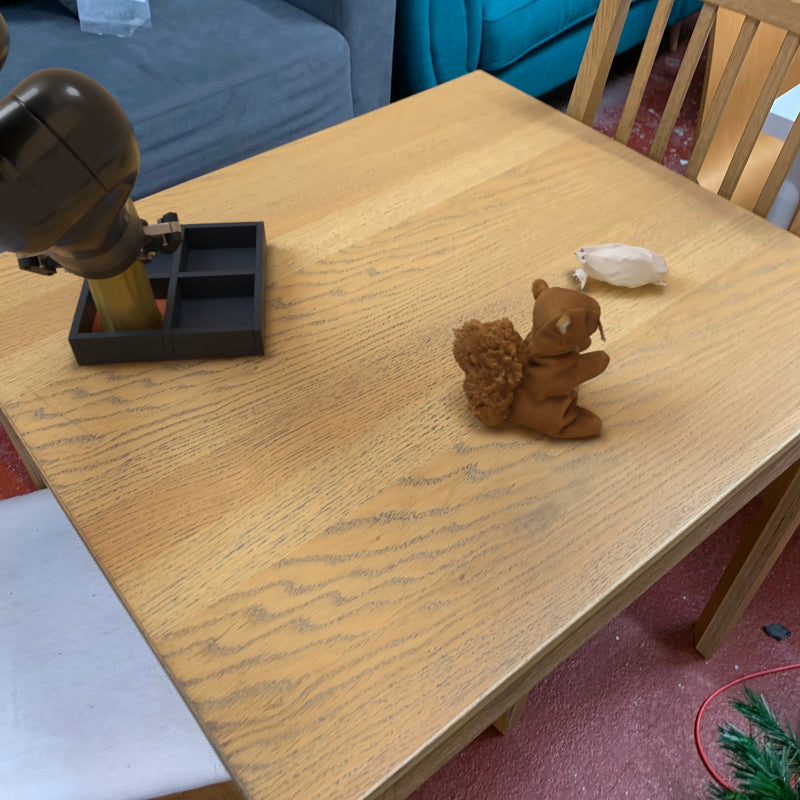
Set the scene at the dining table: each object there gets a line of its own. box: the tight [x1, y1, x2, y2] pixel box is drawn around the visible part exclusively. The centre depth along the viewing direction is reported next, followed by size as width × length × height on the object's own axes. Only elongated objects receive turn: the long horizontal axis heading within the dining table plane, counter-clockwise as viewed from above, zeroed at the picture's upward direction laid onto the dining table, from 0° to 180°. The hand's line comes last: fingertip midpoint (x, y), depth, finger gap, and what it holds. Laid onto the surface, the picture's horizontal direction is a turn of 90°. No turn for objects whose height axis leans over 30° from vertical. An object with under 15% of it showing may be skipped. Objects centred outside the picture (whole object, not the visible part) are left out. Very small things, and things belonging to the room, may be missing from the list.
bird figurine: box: [572, 242, 669, 290], centre depth 85 cm, size 5×7×10 cm
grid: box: [67, 220, 268, 366], centre depth 82 cm, size 18×18×4 cm
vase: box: [87, 260, 162, 332], centre depth 74 cm, size 6×6×14 cm
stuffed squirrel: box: [451, 278, 611, 439], centre depth 69 cm, size 10×14×13 cm
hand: (113, 258), depth 75 cm, fingers closed on vase, 5 cm apart
